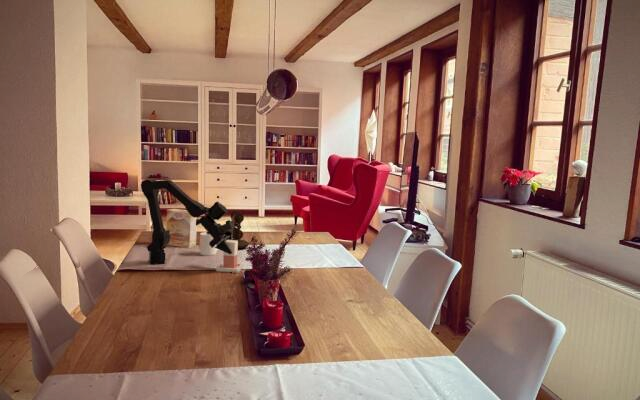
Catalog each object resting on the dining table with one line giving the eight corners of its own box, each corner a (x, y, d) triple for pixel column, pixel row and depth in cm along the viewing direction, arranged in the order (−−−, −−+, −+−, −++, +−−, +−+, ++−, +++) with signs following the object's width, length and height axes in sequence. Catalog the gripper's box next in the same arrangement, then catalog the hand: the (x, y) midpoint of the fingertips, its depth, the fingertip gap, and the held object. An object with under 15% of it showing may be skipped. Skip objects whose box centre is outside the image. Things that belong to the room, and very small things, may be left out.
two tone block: (223, 268, 223) (224, 241, 221) (226, 266, 228) (227, 239, 226) (233, 269, 222) (234, 242, 221) (236, 266, 227) (237, 240, 226)
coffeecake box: (165, 244, 267) (166, 209, 265) (172, 242, 274) (173, 208, 272) (189, 248, 263) (190, 212, 261) (196, 245, 270) (197, 210, 268)
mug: (224, 255, 252) (225, 234, 250) (201, 256, 247) (201, 235, 245) (220, 251, 259) (221, 231, 258) (197, 252, 254) (198, 232, 253)
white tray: (216, 271, 220) (216, 267, 220) (222, 265, 230) (223, 262, 230) (237, 273, 219) (237, 269, 219) (243, 267, 229) (243, 264, 229)
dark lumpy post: (219, 245, 275) (221, 210, 273) (245, 244, 281) (246, 210, 279) (226, 250, 262) (227, 214, 260) (252, 249, 268) (254, 214, 266)
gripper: (217, 218, 213) (240, 244, 213) (230, 212, 232) (251, 237, 232) (199, 234, 215) (222, 260, 215) (213, 227, 233) (234, 252, 233)
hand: (233, 252), depth 224 cm, fingers open, 7 cm apart
